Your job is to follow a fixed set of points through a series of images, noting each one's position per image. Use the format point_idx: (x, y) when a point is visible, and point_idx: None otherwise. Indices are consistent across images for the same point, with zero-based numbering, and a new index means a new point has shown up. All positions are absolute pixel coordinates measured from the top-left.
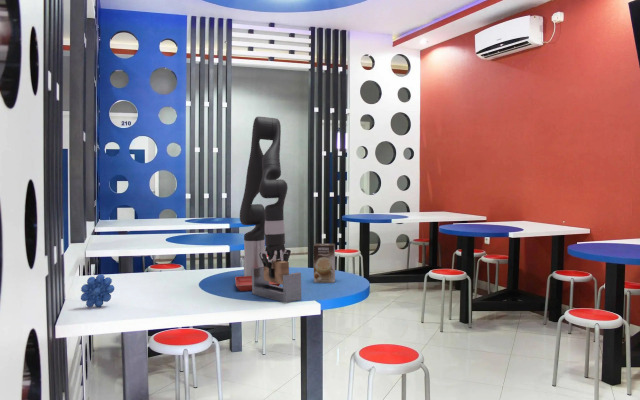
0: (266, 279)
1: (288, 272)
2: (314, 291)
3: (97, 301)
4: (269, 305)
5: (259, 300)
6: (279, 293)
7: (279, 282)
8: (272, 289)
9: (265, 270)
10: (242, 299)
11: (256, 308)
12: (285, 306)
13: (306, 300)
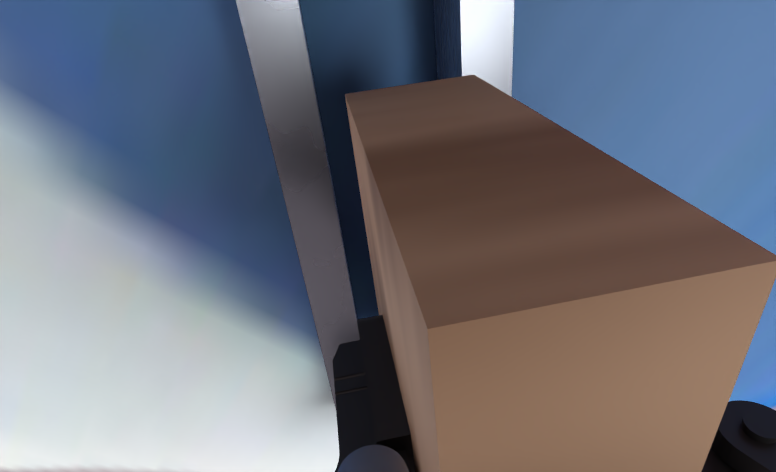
0: (358, 174)
1: None
2: (737, 218)
3: None
4: (208, 407)
5: (189, 243)
6: (334, 398)
7: None
8: (448, 69)
9: (375, 226)
10: (11, 98)
11: (86, 434)
12: (295, 461)
13: None
